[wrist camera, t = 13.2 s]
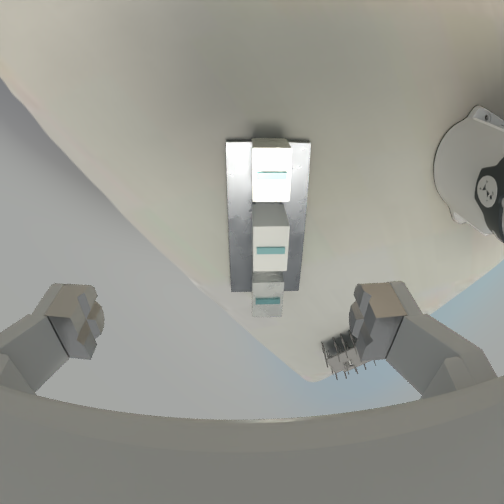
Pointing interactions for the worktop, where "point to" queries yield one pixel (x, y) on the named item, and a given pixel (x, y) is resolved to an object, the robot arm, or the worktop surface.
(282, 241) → the block
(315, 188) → the worktop surface
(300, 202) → the rail plate
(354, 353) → the building frame
